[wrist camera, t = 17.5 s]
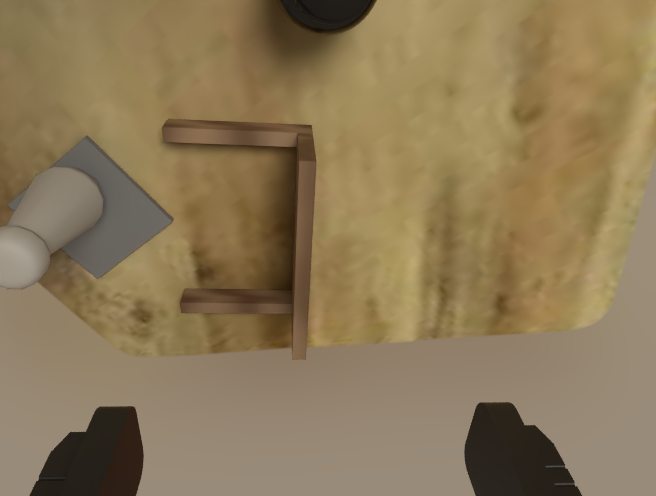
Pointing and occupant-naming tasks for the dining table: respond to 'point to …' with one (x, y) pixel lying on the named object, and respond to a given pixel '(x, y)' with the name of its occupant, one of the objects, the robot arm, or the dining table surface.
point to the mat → (110, 212)
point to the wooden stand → (303, 222)
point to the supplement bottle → (326, 14)
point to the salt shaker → (47, 223)
